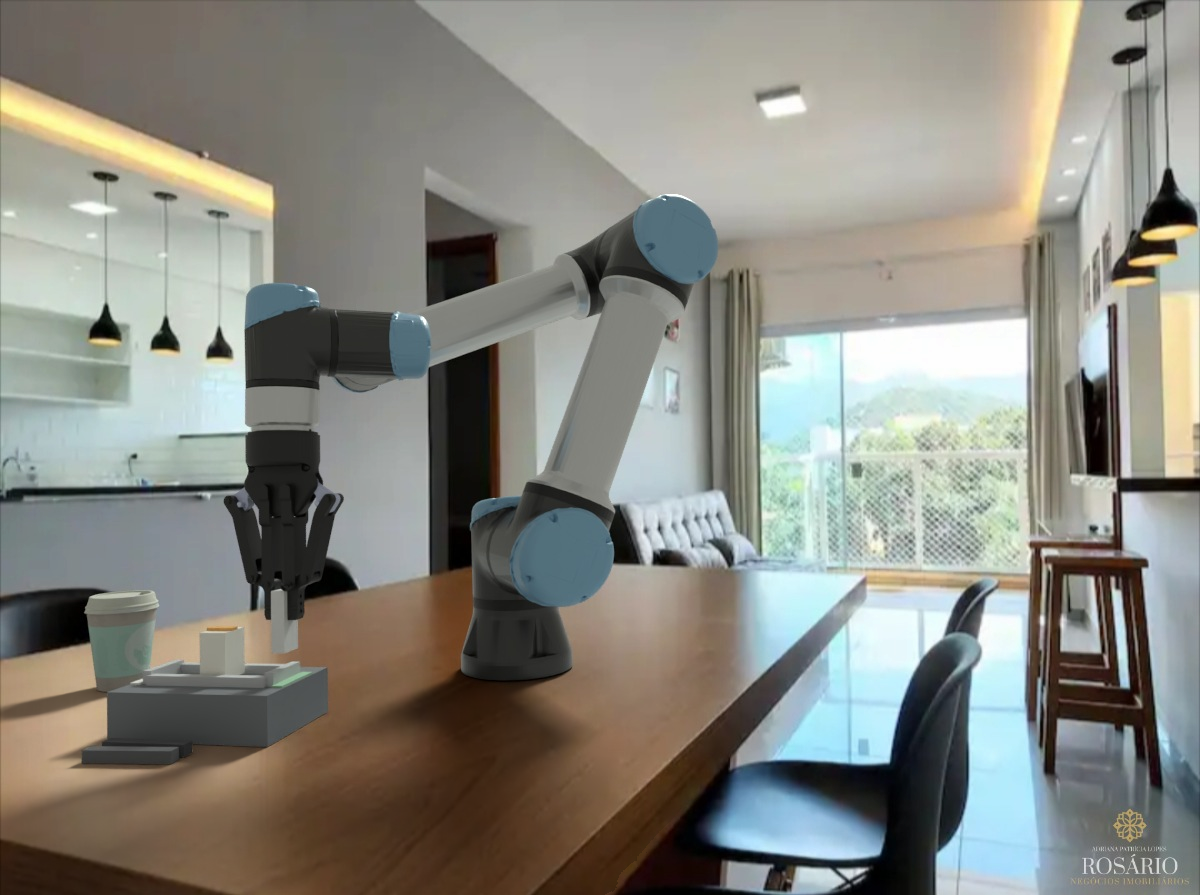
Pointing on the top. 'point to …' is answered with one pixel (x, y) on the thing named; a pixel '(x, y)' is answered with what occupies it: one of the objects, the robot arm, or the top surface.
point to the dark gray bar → (130, 755)
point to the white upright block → (222, 651)
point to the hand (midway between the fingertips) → (284, 650)
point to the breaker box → (218, 704)
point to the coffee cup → (121, 636)
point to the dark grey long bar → (152, 744)
